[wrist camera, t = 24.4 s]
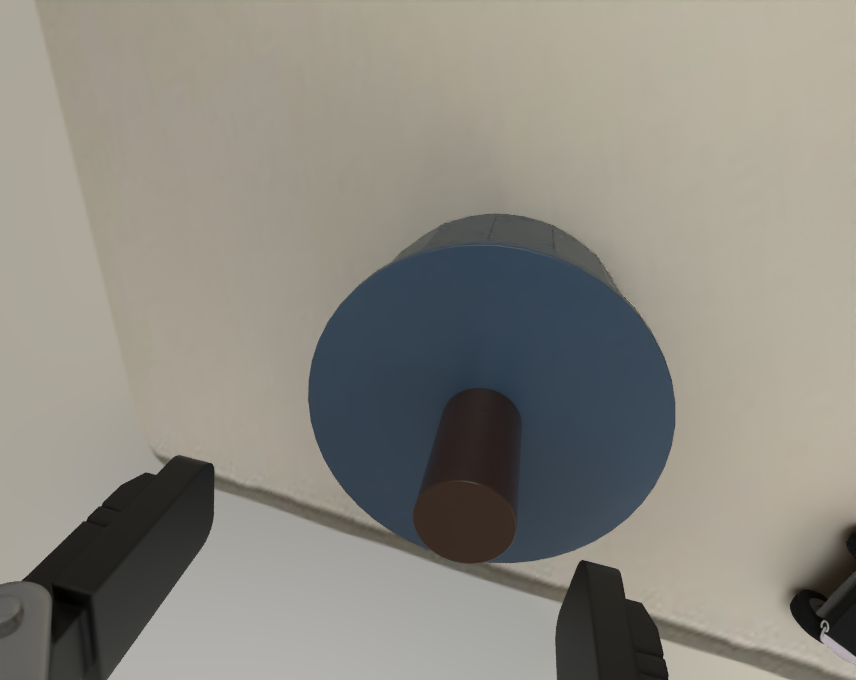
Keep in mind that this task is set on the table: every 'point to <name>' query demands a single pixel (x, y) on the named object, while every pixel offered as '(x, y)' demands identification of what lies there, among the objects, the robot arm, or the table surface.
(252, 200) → the table surface
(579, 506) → the lid
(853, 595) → the toy car
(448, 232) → the tin
